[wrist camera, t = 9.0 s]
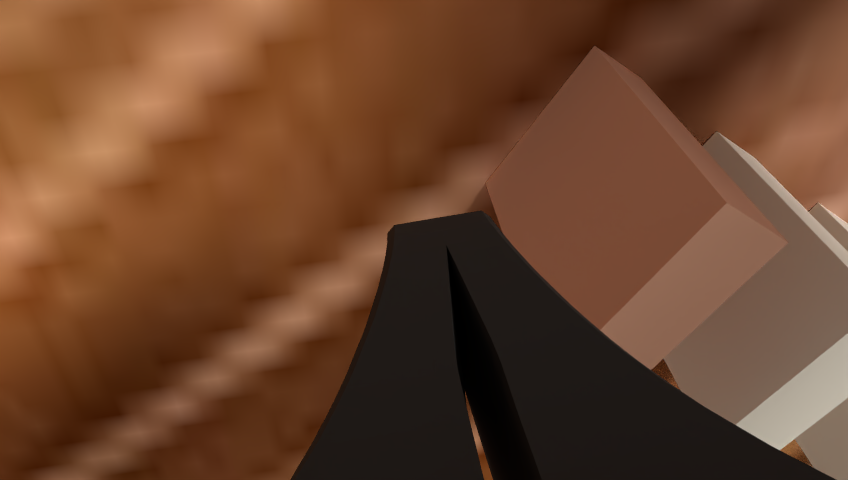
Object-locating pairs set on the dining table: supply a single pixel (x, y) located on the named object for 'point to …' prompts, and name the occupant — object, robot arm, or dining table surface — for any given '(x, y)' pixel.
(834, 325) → the cream white flat block
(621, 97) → the brown rectangular block
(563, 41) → the dining table surface
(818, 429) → the domino
